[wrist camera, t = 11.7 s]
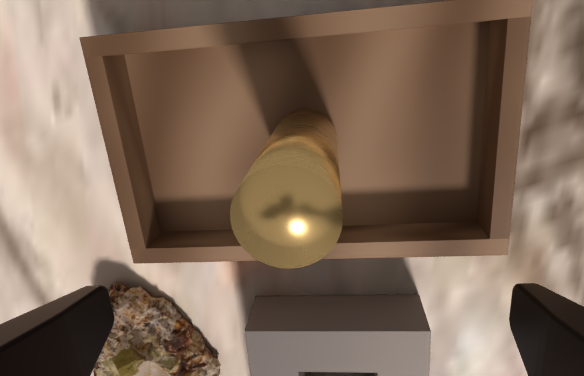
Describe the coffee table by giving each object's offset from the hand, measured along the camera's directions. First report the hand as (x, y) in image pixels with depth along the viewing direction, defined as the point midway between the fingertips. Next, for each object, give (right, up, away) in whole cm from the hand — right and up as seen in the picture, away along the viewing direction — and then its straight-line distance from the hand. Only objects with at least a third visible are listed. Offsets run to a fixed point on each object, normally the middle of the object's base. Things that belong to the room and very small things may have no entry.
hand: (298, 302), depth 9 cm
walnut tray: (0, +5, +11) cm, 12 cm away
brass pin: (0, +5, +10) cm, 11 cm away
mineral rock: (-9, -8, +17) cm, 20 cm away
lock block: (+3, -8, +15) cm, 17 cm away
